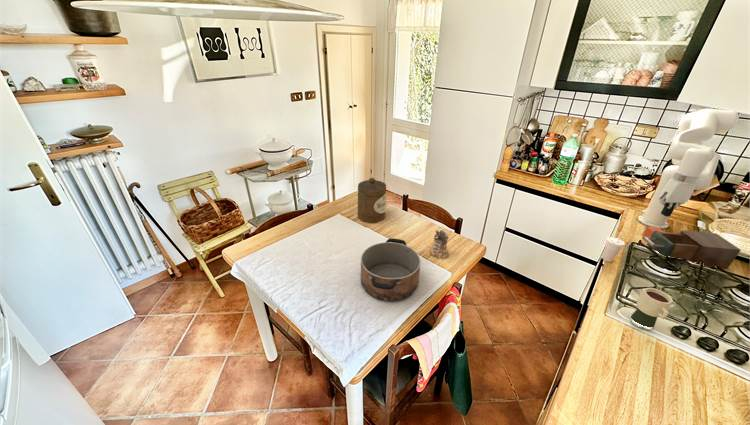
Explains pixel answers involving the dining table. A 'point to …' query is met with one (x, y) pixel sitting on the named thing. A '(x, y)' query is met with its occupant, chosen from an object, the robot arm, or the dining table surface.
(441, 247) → the figurine
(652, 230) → the block
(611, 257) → the smoothie
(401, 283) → the cooking pot
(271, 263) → the dining table surface
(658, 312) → the character mug
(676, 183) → the robot arm
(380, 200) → the brown lidded canister
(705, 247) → the cabinet
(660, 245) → the drawer
